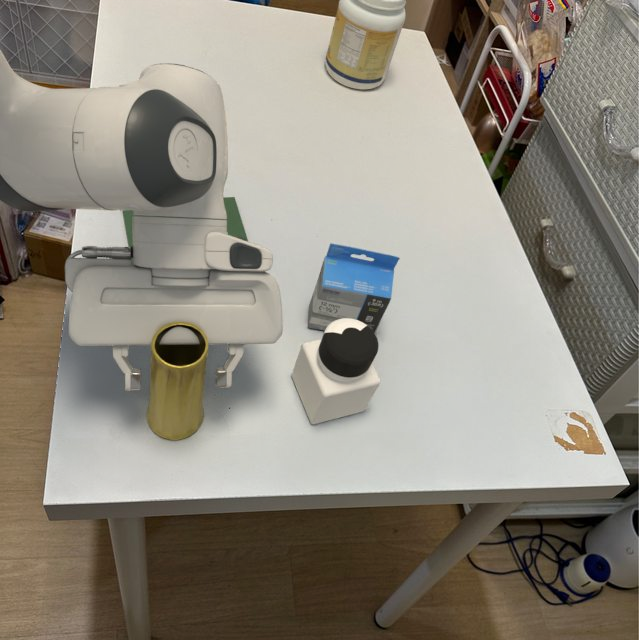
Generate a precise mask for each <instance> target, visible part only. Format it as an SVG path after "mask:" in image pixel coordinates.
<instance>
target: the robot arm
mask: <svg viewBox="0 0 639 640" xmlns="http://www.w3.org/2000/svg"><path fill="white" fill-rule="evenodd" d="M226 114H227V113H226V107H225V100H224V95H223V91H222V88H221V85H220V84H219V82H218V81H217V80H215V78H213V77H212V76H211V75H209V74H208V73H206V72H204V71H202V70H201V69H198V68H194V67H190V66H188V65H185V64H179V63H156V64H155V63H154V64H151V65H148V66H146V67H145V68H144V69H142V70H141V73H140V75H139V79H137V80H136V81H133V82H129V83H125V84H121V85H120V84H119V85H118V86H99V87H78V88H75V87H74V88H52V87H47V86H42V85H39V84H36V83H33V82H31V81H29V80H27V79H25V78H23V77H21V76H20V75H19V74H17V73H16V72H15V71H14V70H13V68H12V66H11V65H10V64H9V62H8V60H7V58H6V56H5V55H4V53H3V51H2V50H1V49H0V202H2V203H4V204H5V205H7V206H8V207H11V208H13V209H15V210H19V211H23V212H43V211H46V212H47V211H61V210H91V211H92V210H93V211H123V210H132V211H133V215H136V216H133V246H132V247H129V246H109V247H108V246H106V247H105V246H103V247H101V246H100V247H99V246H97V245H85V246H82V247H81V249H78V250H75V251H74V252H72V253H71V254H70V255H69V256H67V258H66V260H65V263H64V282H65V285H66V287H67V288H68V291H70V292H71V297H70V304H69V313H68V327H67V329H68V337H69V338H70V340H72V342H73V343H74V344H75V345H77V346H78V347H79V346H80V347H91V346H93V347H94V346H97V347H101V346H103V347H104V346H108V347H109V346H112V358H113V359H114V361H115V362H116V364H117V365H118V367H119V369H120V371H121V372H122V373H123V374H124V384H125V385H124V390H125V391H130V392H131V391H142V369H141V368H133V367H132V365H131V364H130V362H129V360H128V359H127V357H128V356H129V354H130V353H129V352H130V346H151V342H152V338H153V336H154V335H155V333H156V332H157V331H158V330H159V329H160V328H161V327H163V326H165V325H167V324H170V323H174V322H186V323H191V324H193V325H196V326H197V327H199V328H200V329H201V330H202V331H203V332H204V333H205V335H206V337H207V339H208V343H209V345H227V346H226V350H227V352H228V354H229V357H228V358H227V360H226V361H225V363H224V365H223V367H221V366H219V367H215V379H214V381H215V386H216V389H225V388H226V389H228V388H232V384H233V372H234V370H235V369H236V368H237V366H238V364H239V363H240V361H241V360H242V358H243V356H244V345H273V344H274V345H275V343H277V341H278V340H279V339H280V338H281V337H282V335H283V331H284V330H283V328H284V325H283V322H284V321H283V319H284V317H283V303H282V296H281V289H280V285H279V283H278V281H277V279H276V278H275V277H274V276H273V275H272V274H271V273H269V272H268V271H270V270H272V268H273V264H274V255H273V251H271V250H270V249H268V248H266V247H264V246H262V245H259V244H256V243H253V242H251V241H249V240H248V241H246V239H244V238H242V237H237V236H236V237H233V236H230V235H228V232H227V214H226V210H225V206H224V200H223V197H224V191H225V186H226V182H227V178H228V174H229V140H228V139H229V137H228V123H227V115H226ZM144 216H155V217H144ZM168 217H176V218H168ZM191 218H199V219H191ZM212 219H225V220H212ZM80 255H81V257H77V256H80ZM131 257H132V258H133V265H132V259H131ZM199 344H200V342H199V340H198V337H197V336H196V335H195V334H194V333H193V332H192V331H191V330H190V329H187V328H184V327H174V328H173V329H171V330H169V331H168V332H167V333H166V334H165V335H164V336H163V337H162V339H161V341H160V343H159V345H199Z"/></svg>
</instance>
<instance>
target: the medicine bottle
mask: <svg viewBox="0 0 639 640" xmlns="http://www.w3.org/2000/svg"><path fill="white" fill-rule="evenodd" d="M379 347H380V345H379V339H378V337H377V335H376V332H375V333H374V332H373V331H372V330H371V328H369V327H368V326H367V325H366V324H364V323H363V322H361V321H358V320H355V319H349V318H343V319H338V320H335V321H333V322H332V323H330V324H329V325H328V327H327V328H326V330H324V332H323V335H322V337H321V338H320V339H316V340H315V339H314V340H310V341H305V342H303V343H302V344H301V346H300V349H299V353H298V355H297V357H296V360H295V363H294V366H293V369H292V371H291V379H292V380H293V381H292V382H293V384H294V385H295V388H296V390H297V393H298V396H299V398H300V401H301V403H302V405H303V408H304V410H305V413H306V416H307V418H308V420H309V423H310V424H311V425H318V424H320V423H325V422H328V421H332V420H336V419H340V418H343V417H348V416H351V415H355V414H359V413H362V412H365V410H366V408H367V407H368V405H369V403H370V402H371V400H372V398H373V396H374V395H375V393H376V391H377V390H378V388H379V386H380V384H381V382H382V381H381V378H380V375H379V374H378V372H377V369H376V368H375V365H374V364H373V362H374V360H375V358H376V356H377V354H378V352H379Z"/></svg>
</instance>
